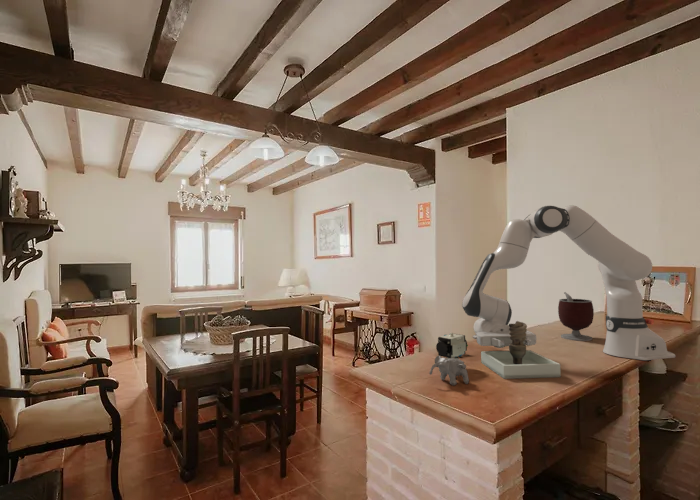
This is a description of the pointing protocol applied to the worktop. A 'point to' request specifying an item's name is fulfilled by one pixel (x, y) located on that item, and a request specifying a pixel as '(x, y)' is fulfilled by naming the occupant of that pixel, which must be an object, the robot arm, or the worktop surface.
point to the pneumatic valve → (451, 345)
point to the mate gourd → (575, 316)
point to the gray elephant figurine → (451, 369)
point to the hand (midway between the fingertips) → (515, 343)
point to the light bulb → (517, 341)
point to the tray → (520, 365)
